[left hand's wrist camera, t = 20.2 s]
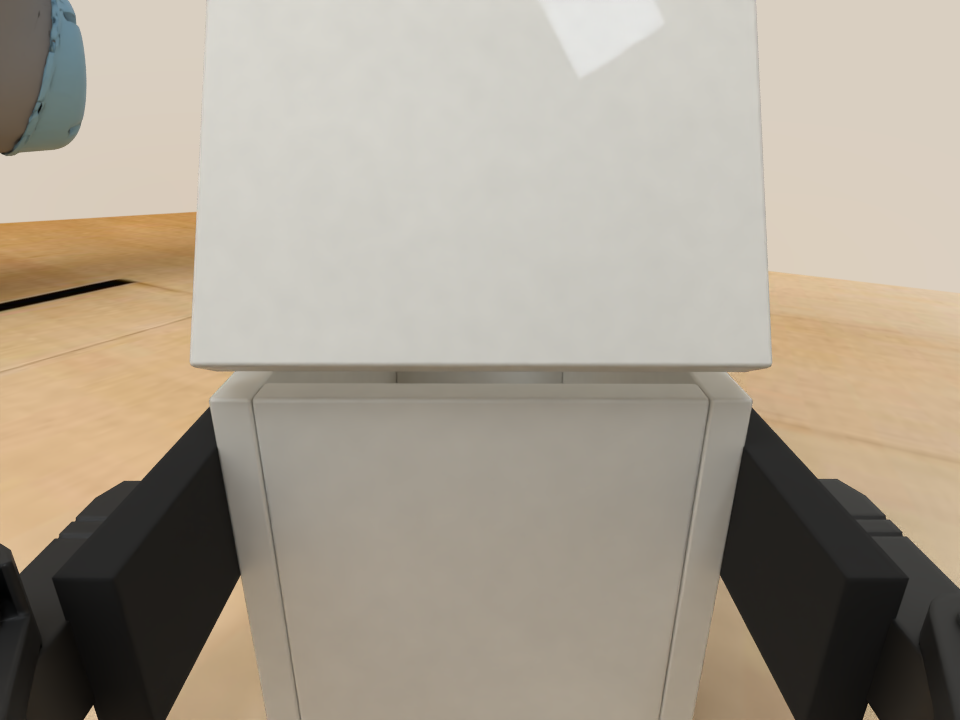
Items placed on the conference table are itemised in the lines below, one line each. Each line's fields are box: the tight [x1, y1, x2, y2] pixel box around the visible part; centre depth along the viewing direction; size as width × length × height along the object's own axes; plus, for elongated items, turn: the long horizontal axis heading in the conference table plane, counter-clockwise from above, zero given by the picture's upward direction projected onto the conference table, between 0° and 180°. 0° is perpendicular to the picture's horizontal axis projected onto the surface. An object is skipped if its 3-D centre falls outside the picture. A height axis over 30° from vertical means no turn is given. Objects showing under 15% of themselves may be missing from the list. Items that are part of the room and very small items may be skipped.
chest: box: [209, 371, 753, 720], centre depth 19 cm, size 17×9×9 cm, turn 0°
